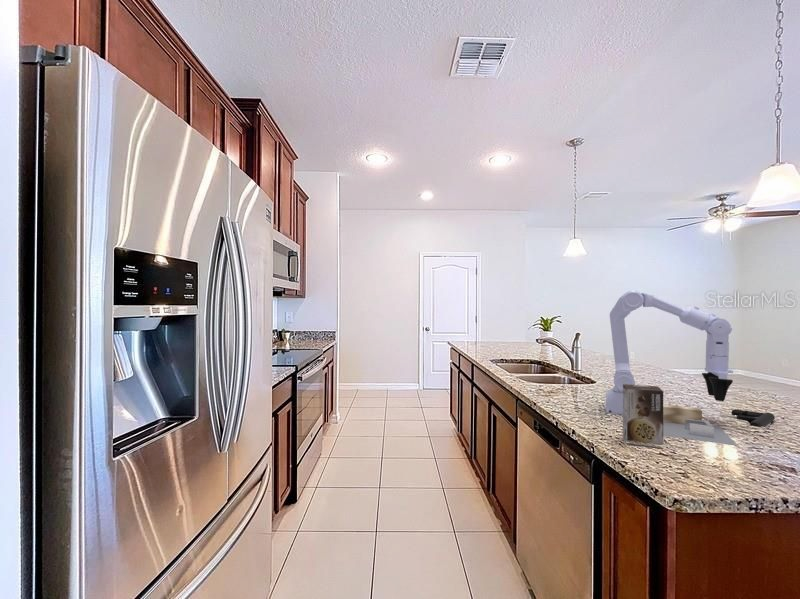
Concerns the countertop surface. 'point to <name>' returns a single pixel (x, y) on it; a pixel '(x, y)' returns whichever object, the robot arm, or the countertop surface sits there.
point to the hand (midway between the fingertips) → (716, 398)
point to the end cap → (699, 427)
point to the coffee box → (643, 414)
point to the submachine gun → (753, 417)
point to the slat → (680, 414)
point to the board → (681, 432)
